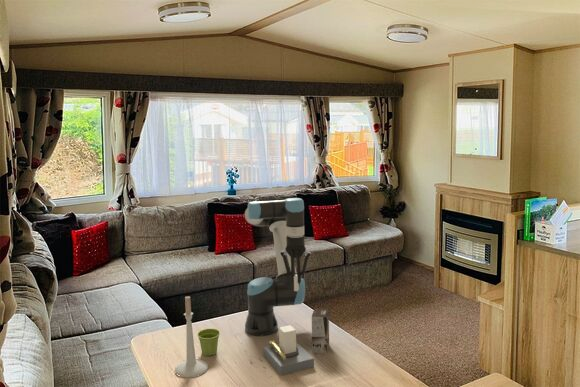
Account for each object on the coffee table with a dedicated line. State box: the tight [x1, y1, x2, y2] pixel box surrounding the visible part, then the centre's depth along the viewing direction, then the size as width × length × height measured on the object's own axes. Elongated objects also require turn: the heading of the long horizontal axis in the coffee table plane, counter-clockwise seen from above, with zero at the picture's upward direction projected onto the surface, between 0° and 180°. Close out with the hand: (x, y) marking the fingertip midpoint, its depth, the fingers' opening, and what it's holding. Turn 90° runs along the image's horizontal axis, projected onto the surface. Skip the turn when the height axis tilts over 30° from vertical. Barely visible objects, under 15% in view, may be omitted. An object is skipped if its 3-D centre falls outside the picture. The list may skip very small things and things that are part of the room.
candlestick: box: [174, 295, 209, 378], centre depth 189 cm, size 13×13×30 cm
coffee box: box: [311, 308, 330, 354], centre depth 205 cm, size 9×6×16 cm
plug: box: [277, 324, 298, 358], centre depth 194 cm, size 8×8×14 cm
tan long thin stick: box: [268, 339, 286, 360], centre depth 193 cm, size 15×2×1 cm, turn 22°
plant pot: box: [196, 328, 221, 357], centre depth 204 cm, size 9×9×9 cm
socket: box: [262, 341, 315, 376], centre depth 195 cm, size 18×14×5 cm
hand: (296, 290), depth 206 cm, fingers closed
